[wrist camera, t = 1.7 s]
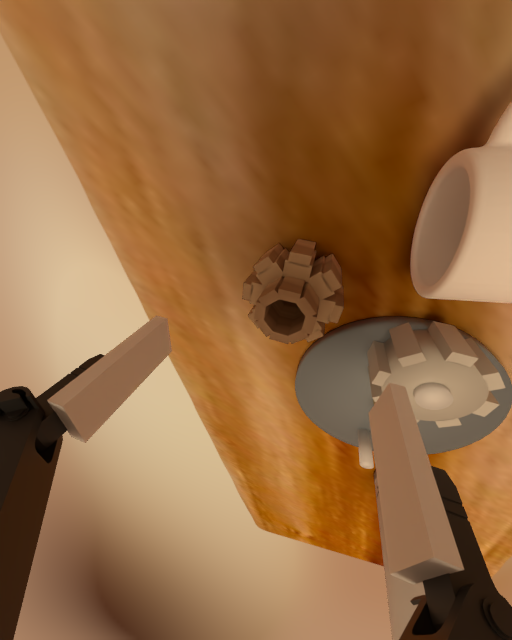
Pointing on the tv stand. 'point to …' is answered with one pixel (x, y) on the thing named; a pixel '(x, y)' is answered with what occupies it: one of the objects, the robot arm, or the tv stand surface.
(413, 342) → the carrier
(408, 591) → the travel mug
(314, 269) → the oak gear
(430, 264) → the mug
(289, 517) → the tv stand surface
